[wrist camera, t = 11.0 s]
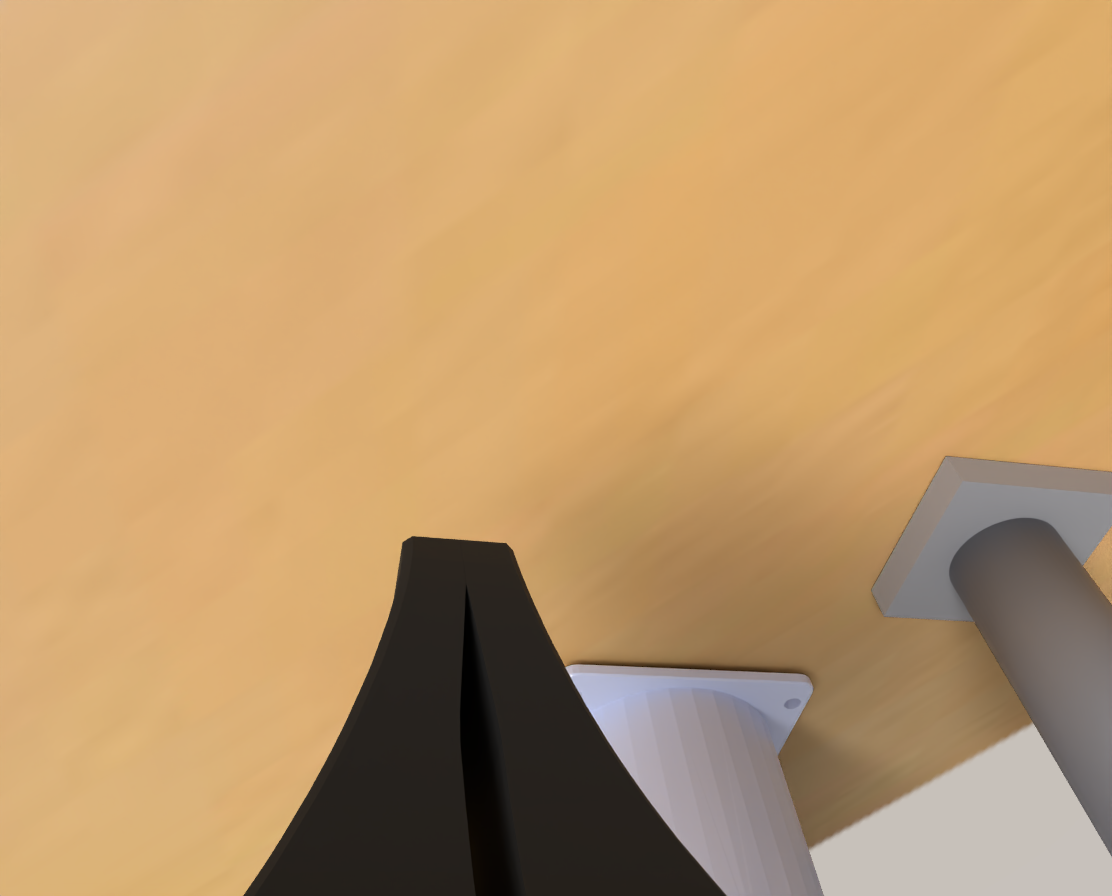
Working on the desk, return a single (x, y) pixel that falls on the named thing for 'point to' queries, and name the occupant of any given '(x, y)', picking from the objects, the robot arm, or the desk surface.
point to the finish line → (1023, 597)
